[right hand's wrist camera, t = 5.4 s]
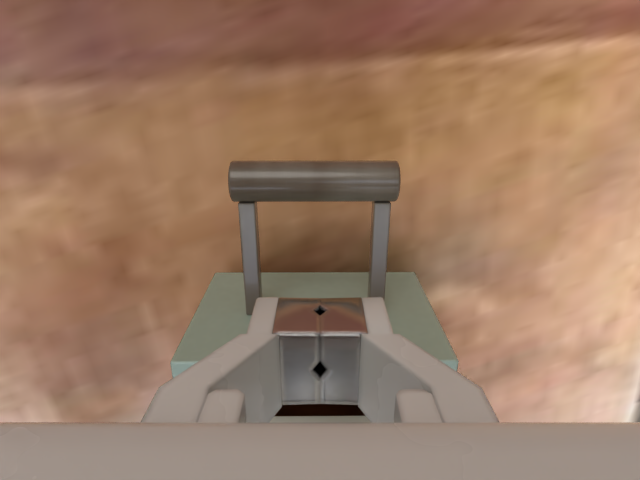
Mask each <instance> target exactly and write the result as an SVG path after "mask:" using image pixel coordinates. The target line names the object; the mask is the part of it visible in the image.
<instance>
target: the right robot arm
mask: <svg viewBox="0 0 640 480" xmlns="http://www.w3.org/2000/svg"><path fill="white" fill-rule="evenodd" d="M298 404H342V405H358V407H359V408H360V409H361V411H362V412H363V413H364V414H365V416H366V417H367V418H368V419H369V420H370V422H371V423H269V422H270V421H271V420H272V418H273V417H274V416H275V415H276V413H277V412H278V411H279V410H280V409H281V407H282V405H298ZM0 480H640V423H500V422H499V420H498V419H497V417H496V415H495V413H494V411H493V409H492V407H491V405H490V403H489V401H488V399H487V397H486V395H485V393H484V391H483V390H482V388H481V387H479V386H478V385H476V384H475V383H473V382H472V381H470V380H469V379H467V378H466V377H464V376H463V375H461V374H460V373H458V372H457V371H455V370H454V369H452V368H450V367H449V366H447V365H446V364H444V363H443V362H441V361H440V360H438V359H437V358H435V357H434V356H432V355H431V354H429V353H428V352H426V351H425V350H423V349H422V348H420V347H419V346H417V345H416V344H414V343H413V342H411V341H410V340H408V339H407V338H405V337H403V336H402V335H400V334H394V333H393V330H392V327H391V323H390V320H389V316H388V313H387V310H386V306H385V303H384V299H383V298H382V297H367V298H361V297H354V298H285V297H280V298H278V297H259V298H257V299H256V302H255V306H254V309H253V313H252V316H251V320H250V323H249V327H248V330H247V333H246V334H240V335H238V336H237V337H235V338H233V339H232V340H230V341H229V342H227V343H226V344H224V345H223V346H221V347H220V348H218V349H217V350H215V351H214V352H212V353H211V354H209V355H208V356H206V357H205V358H203V359H201V360H200V361H198V362H197V363H195V364H194V365H192V366H191V367H189V368H188V369H186V370H185V371H183V372H182V373H180V374H179V375H177V376H176V377H174V378H173V379H171V380H169V381H168V382H166V383H165V384H163V385H162V386H160V387H159V388H158V390H157V392H156V394H155V396H154V398H153V400H152V401H151V403H150V405H149V407H148V409H147V411H146V413H145V415H144V417H143V419H142V421H141V422H140V423H0Z"/></svg>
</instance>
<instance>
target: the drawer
mask: <svg viewBox="0 0 640 480" xmlns="http://www.w3.org/2000/svg"><path fill="white" fill-rule="evenodd" d="M228 185H229V193H230V197H231V199H232V201H234V202H239V204H238V209H239V223H240V236H241V249H242V263H243V273H215V275H214V277H213V279H212V281H211V283H210V285H209V287H208V289H207V291H206V293H205V295H204V297H203V299H202V301H201V303H200V305H199V307H198V309H197V311H196V313H195V315H194V317H193V318H192V320H191V322H190V324H189V326H188V328H187V330H186V332H185V334H184V336H183V338H182V340H181V342H180V344H179V346H178V348H177V350H176V352H175V354H174V356H173V358H172V360H171V369H172V376H173V378H174V377H176V376H177V375H179V374H180V373H182V372H183V371H185V370H186V369H188V368H189V367H191V366H192V365H194V364H195V363H197V362H198V361H200V360H201V359H203V358H205V357H206V356H208V355H209V354H211V353H212V352H214V351H215V350H217V349H218V348H220V347H221V346H223V345H224V344H226V343H227V342H229V341H230V340H232V339H233V338H235V337H237V336H238V335H240V334H246V333H247V330H248V327H249V323H250V320H251V316H252V313H253V309H254V306H255V302H256V299H257V298H259V297H278V298H280V297H285V298H354V297H361V298H367V297H382V298H383V299H384V303H385V306H386V310H387V313H388V316H389V320H390V323H391V327H392V330H393V333H394V334H400V335H402V336H403V337H405V338H407V339H408V340H410V341H411V342H413V343H414V344H416V345H417V346H419V347H420V348H422V349H423V350H425V351H426V352H428V353H429V354H431V355H432V356H434V357H435V358H437V359H438V360H440V361H441V362H443V363H444V364H446V365H447V366H449V367H450V368H452V369H454V370H455V371H457V368H458V359H457V357H456V355H455V353H454V351H453V349H452V347H451V345H450V343H449V341H448V339H447V337H446V335H445V333H444V331H443V329H442V327H441V325H440V323H439V321H438V319H437V317H436V315H435V313H434V311H433V309H432V307H431V305H430V303H429V301H428V299H427V297H426V295H425V293H424V290H423V288H422V286H421V284H420V282H419V280H418V278H417V276H416V274H415V273H414V272H386V270H387V255H388V240H389V225H390V210H391V203H390V201H396V200H397V199H398V196H399V191H400V167H399V164H398V162H397V161H232V162H231V163H230V166H229V172H228ZM343 201H372V216H371V236H370V257H369V272H261V264H260V247H259V229H258V212H257V202H343ZM275 416H365V414H364V413H363V412H362V411H361V409H360V408H359V407H358V405H342V404H298V405H282V407H281V409H280V410H279V411H278V412H277V413H276V415H275Z"/></svg>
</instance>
